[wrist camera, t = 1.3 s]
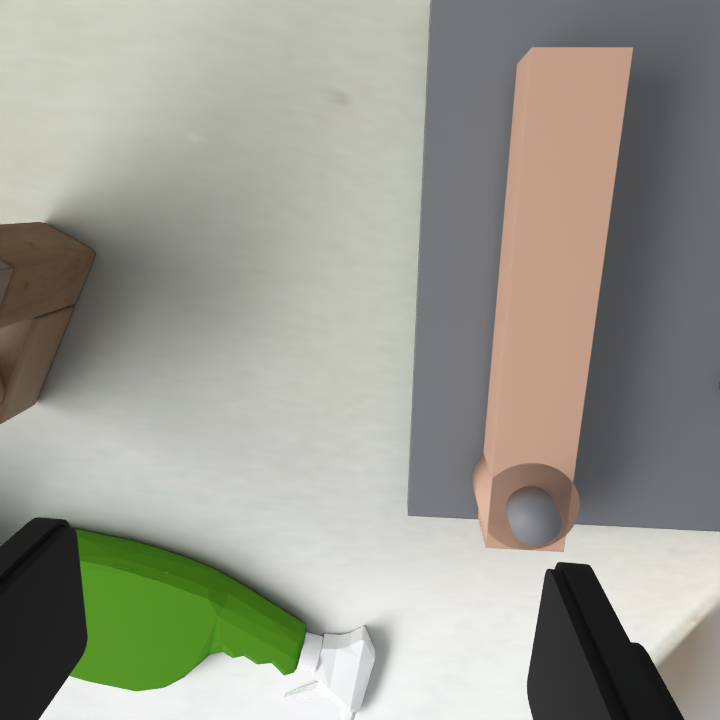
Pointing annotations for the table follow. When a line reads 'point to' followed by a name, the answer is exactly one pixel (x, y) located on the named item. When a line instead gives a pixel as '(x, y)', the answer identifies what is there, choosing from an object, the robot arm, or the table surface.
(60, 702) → the table surface
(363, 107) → the table surface
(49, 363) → the wooden block
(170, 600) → the spray bottle
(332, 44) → the table surface
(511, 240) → the link
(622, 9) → the base board
